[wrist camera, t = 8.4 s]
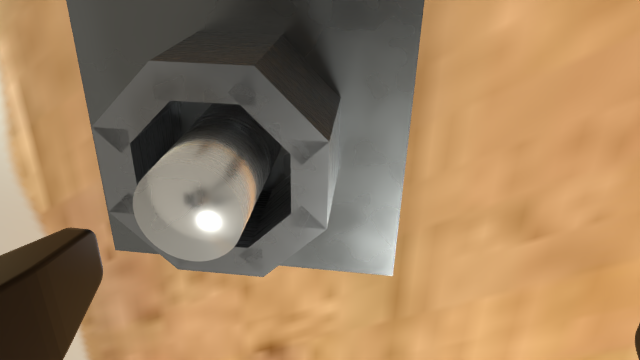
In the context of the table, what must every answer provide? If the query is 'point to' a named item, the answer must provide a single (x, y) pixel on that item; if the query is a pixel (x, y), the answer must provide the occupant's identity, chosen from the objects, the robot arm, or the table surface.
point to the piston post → (249, 136)
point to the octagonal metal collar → (263, 105)
